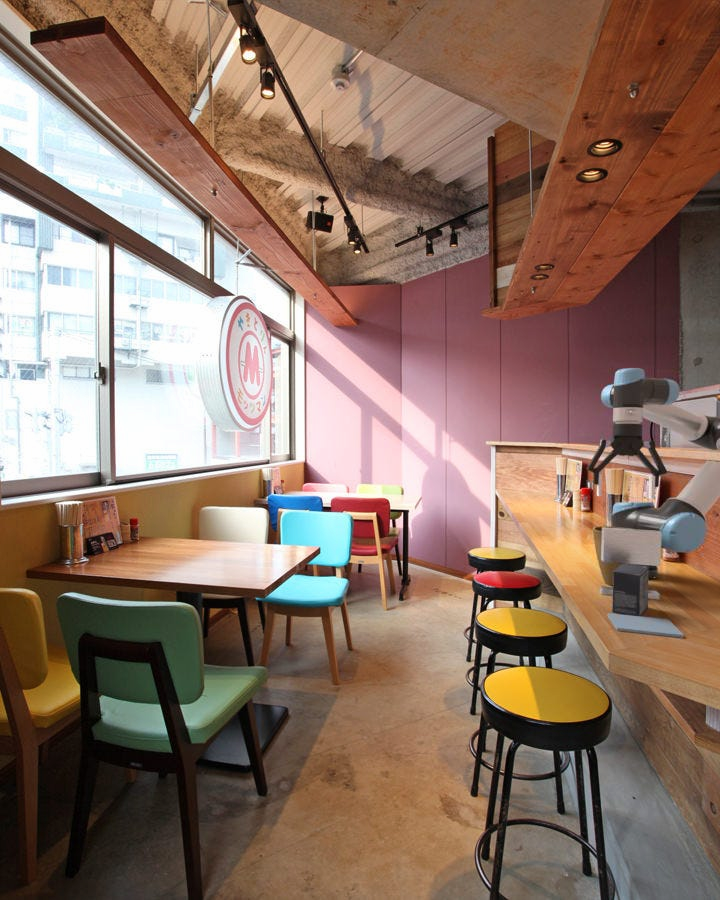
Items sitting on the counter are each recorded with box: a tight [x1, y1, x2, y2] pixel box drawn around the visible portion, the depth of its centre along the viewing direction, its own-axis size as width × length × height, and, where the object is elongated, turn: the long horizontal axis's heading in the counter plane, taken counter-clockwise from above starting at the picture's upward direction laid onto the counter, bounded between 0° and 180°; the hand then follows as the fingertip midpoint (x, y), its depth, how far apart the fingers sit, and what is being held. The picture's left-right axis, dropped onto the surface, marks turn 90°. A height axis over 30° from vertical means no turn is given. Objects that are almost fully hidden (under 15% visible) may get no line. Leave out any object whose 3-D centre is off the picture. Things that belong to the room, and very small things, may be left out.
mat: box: [606, 612, 685, 639], centre depth 113 cm, size 10×13×1 cm
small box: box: [611, 564, 649, 617], centre depth 124 cm, size 11×6×10 cm, turn 141°
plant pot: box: [592, 525, 642, 586], centre depth 147 cm, size 15×15×16 cm
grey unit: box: [599, 527, 662, 601], centre depth 136 cm, size 4×14×18 cm, turn 75°
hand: (624, 497), depth 142 cm, fingers open, 13 cm apart
